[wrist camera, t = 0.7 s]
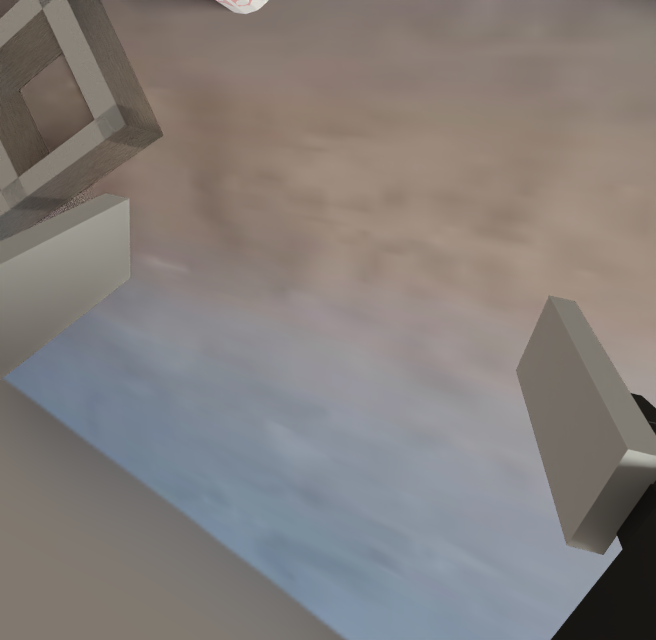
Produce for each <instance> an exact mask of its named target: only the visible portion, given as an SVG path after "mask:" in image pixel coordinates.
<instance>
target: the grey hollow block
mask: <svg viewBox="0 0 656 640" xmlns="http://www.w3.org/2000/svg"><path fill="white" fill-rule="evenodd" d="M62 52H63V53H64V55H65V58H66V60H67V62H68V64H69V66H70V68H71V70H72V72H73V75H74V77H75V79H76V81H77V83H78V85H79V87H80V89H81V92H82V94H83V96H84V98H85V100H86V102H87V104H88V106H89V109H90V111H91V113H92V115H93V117H94V119H95V120H94V121H92V122H91V123H90V124H88V125H87V126H86V127H84V128H83V129H82V130H80V131H79V132H78V133H76V134H75V135H74V136H72V137H71V138H70V139H68V140H67V141H66V142H64V143H63V144H62V145H61V146H59V147H58V148H57V149H55V150H54V151H53V152H51V153H50V154H49V153H48V151H47V149H46V146H45V144H44V142H43V140H42V138H41V136H40V134H39V132H38V130H37V127H36V125H35V123H34V121H33V119H32V117H31V115H30V113H29V111H28V108H27V106H26V104H25V102H24V100H23V98H22V96H21V94H20V92H19V89H20V88H21V87H22V86H24V85H25V84H26V83H27V82H28V81H29V80H31V79H32V78H33V77H34V76H35V75H37V74H38V73H39V72H40V71H41V70H42V69H44V68H45V67H46V66H47V65H48V64H49V63H51V62H52V61H53V60H54V59H55V58H56V57H58V56H59V55H60V54H61V53H62ZM161 136H163V134H162V131H161V129H160V127H159V125H158V123H157V121H156V119H155V116H154V114H153V112H152V110H151V108H150V106H149V104H148V101H147V99H146V97H145V95H144V93H143V91H142V89H141V86H140V84H139V82H138V80H137V78H136V76H135V74H134V71H133V69H132V67H131V65H130V63H129V61H128V59H127V56H126V54H125V52H124V50H123V48H122V46H121V44H120V41H119V39H118V37H117V35H116V33H115V31H114V29H113V26H112V24H111V22H110V20H109V18H108V16H107V14H106V11H105V9H104V7H103V5H102V3H101V1H100V0H20V1H18V2H17V3H16V4H15V5H14V6H13V7H12V8H11V9H10V10H9V11H8V12H7V13H6V14H5V15H4V16H3V17H2V18H1V19H0V190H1V191H0V241H2V240H4V239H6V238H9V237H11V236H13V235H15V234H17V233H20V232H22V231H24V230H26V229H28V228H30V227H31V226H33V225H34V224H36V223H37V222H39V221H40V220H41V219H43V218H44V217H46V216H47V215H49V214H50V213H52V212H53V211H54V210H56V209H57V208H59V207H60V206H62V205H63V204H65V203H66V202H67V201H69V200H70V199H72V198H73V197H75V196H76V195H77V194H79V193H80V192H82V191H83V190H85V189H86V188H88V187H89V186H90V185H92V184H93V183H95V182H96V181H98V180H99V179H101V178H102V177H103V176H105V175H106V174H108V173H109V172H111V171H112V170H114V169H115V168H116V167H118V166H119V165H121V164H122V163H124V162H125V161H126V160H128V159H129V158H131V157H132V156H134V155H135V154H137V153H138V152H139V151H141V150H142V149H144V148H145V147H147V146H148V145H150V144H151V143H152V142H154V141H155V140H157V139H158V138H160V137H161Z"/></svg>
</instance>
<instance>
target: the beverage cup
mask: <svg viewBox="0 0 656 640" xmlns="http://www.w3.org/2000/svg"><path fill="white" fill-rule="evenodd" d="M216 1H218V2H219V3H221V4H222V5H224V6H225V7H227V8H228V9H230V10H231V11H233V12H236V13H243V14H247V13H250V12H253V11H256V10H258V9H260V8H261V7H262V6H263V5H264V4H265V3H266V2H267V1H269V0H216Z"/></svg>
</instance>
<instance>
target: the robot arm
mask: <svg viewBox="0 0 656 640" xmlns="http://www.w3.org/2000/svg"><path fill="white" fill-rule="evenodd" d="M128 279H130V217H129V198H125V197H121V196H116V195H112V194H108V193H105V194H103V195H101V196H98V197H96V198H94V199H92V200H90V201H87V202H85V203H83V204H81V205H79V206H76V207H74V208H72V209H70V210H68V211H66V212H63V213H61V214H59V215H57V216H55V217H52V218H50V219H48V220H46V221H44V222H41V223H39V224H37V225H35V226H33V227H31V228H28V229H26V230H24V231H22V232H20V233H17V234H15V235H13V236H11V237H9V238H6V239H4V240H2V241H0V380H1V379H2V378H3V377H5V376H6V375H7V374H9V373H10V372H11V371H12V370H14V369H15V368H16V367H17V366H19V365H20V364H21V363H23V362H24V361H25V360H26V359H28V358H29V357H30V356H31V355H33V354H34V353H35V352H37V351H38V350H39V349H40V348H42V347H43V346H44V345H45V344H47V343H48V342H49V341H51V340H52V339H53V338H54V337H56V336H57V335H58V334H59V333H61V332H62V331H63V330H65V329H66V328H67V327H68V326H70V325H71V324H72V323H73V322H75V321H76V320H77V319H79V318H80V317H81V316H82V315H84V314H85V313H86V312H87V311H89V310H90V309H91V308H93V307H94V306H95V305H96V304H98V303H99V302H100V301H101V300H103V299H104V298H105V297H107V296H108V295H109V294H110V293H112V292H113V291H114V290H116V289H117V288H118V287H119V286H121V285H122V284H123V283H124V282H126V281H127V280H128ZM516 372H517V375H518V379H519V382H520V386H521V389H522V393H523V396H524V399H525V403H526V406H527V410H528V413H529V417H530V420H531V424H532V427H533V430H534V434H535V437H536V441H537V444H538V448H539V451H540V455H541V458H542V462H543V465H544V468H545V472H546V475H547V479H548V482H549V486H550V489H551V493H552V496H553V499H554V503H555V506H556V510H557V513H558V517H559V520H560V524H561V527H562V531H563V534H564V537H565V541H566V544H567V545H568V546H571V547H575V548H579V549H583V550H587V551H591V552H595V553H598V554H602V555H604V553H605V552H606V550H607V549H608V548H609V546H610V545H611V543H612V542H613V540H614V539H615V538H616V536H618V539H619V541H620V544H621V546H622V551H621V552H620V553H619V555H618V556H617V557H616V558H615V560H614V561H613V562H612V563H611V565H610V566H609V567H608V568H607V570H606V571H605V572H604V573H603V575H602V576H601V577H600V578H599V580H598V581H597V582H596V583H595V585H594V586H593V587H592V589H591V590H590V591H589V592H588V594H587V595H586V596H585V597H584V599H583V600H582V601H581V602H580V604H579V605H578V606H577V607H576V609H575V610H574V611H573V612H572V614H571V615H570V616H569V617H568V619H567V620H566V621H565V623H564V624H563V625H562V626H561V628H560V629H559V630H558V631H557V633H556V634H555V635H554V636H553V638H552V639H551V640H656V408H655V407H654V406H653V405H652V404H650V403H649V402H648V401H647V400H646V399H645V398H644V397H643V396H641V395H636V394H632V393H630V392H629V390H628V388H627V387H626V385H625V383H624V382H623V380H622V378H621V377H620V375H619V373H618V372H617V370H616V368H615V367H614V365H613V364H612V362H611V360H610V359H609V357H608V355H607V354H606V352H605V350H604V349H603V347H602V345H601V344H600V342H599V340H598V339H597V337H596V335H595V334H594V332H593V330H592V329H591V327H590V325H589V324H588V322H587V320H586V319H585V317H584V315H583V314H582V312H581V310H580V309H579V307H578V305H577V304H576V302H575V301H571V300H567V299H563V298H558V297H554V296H550V295H549V297H548V300H547V302H546V304H545V306H544V309H543V311H542V313H541V315H540V318H539V320H538V322H537V324H536V327H535V329H534V331H533V333H532V336H531V338H530V340H529V342H528V345H527V347H526V349H525V351H524V354H523V356H522V358H521V360H520V363H519V365H518V367H517V369H516Z"/></svg>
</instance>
